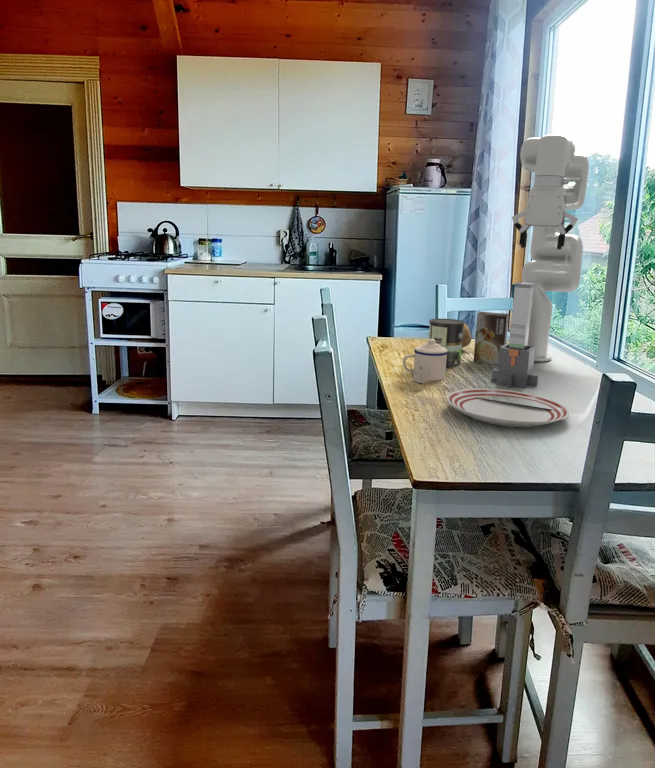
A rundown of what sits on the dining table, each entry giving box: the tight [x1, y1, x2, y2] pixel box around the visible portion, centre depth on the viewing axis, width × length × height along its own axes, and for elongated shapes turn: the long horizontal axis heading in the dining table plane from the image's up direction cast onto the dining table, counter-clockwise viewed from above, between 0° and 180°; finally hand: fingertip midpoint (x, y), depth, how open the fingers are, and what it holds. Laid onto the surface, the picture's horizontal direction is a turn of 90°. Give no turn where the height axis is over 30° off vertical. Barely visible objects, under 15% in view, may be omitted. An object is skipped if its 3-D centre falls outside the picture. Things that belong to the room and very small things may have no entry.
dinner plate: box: [445, 388, 570, 428], centre depth 148 cm, size 27×27×3 cm
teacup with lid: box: [402, 338, 448, 385], centre depth 175 cm, size 12×9×12 cm
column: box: [508, 281, 534, 350], centre depth 168 cm, size 5×4×21 cm
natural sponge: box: [462, 322, 472, 349], centre depth 220 cm, size 9×9×10 cm
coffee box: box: [473, 311, 510, 366], centre depth 197 cm, size 9×6×16 cm
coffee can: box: [428, 318, 465, 371], centre depth 193 cm, size 10×10×14 cm
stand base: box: [491, 342, 539, 389], centre depth 171 cm, size 12×12×11 cm
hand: (541, 248), depth 178 cm, fingers open, 9 cm apart
